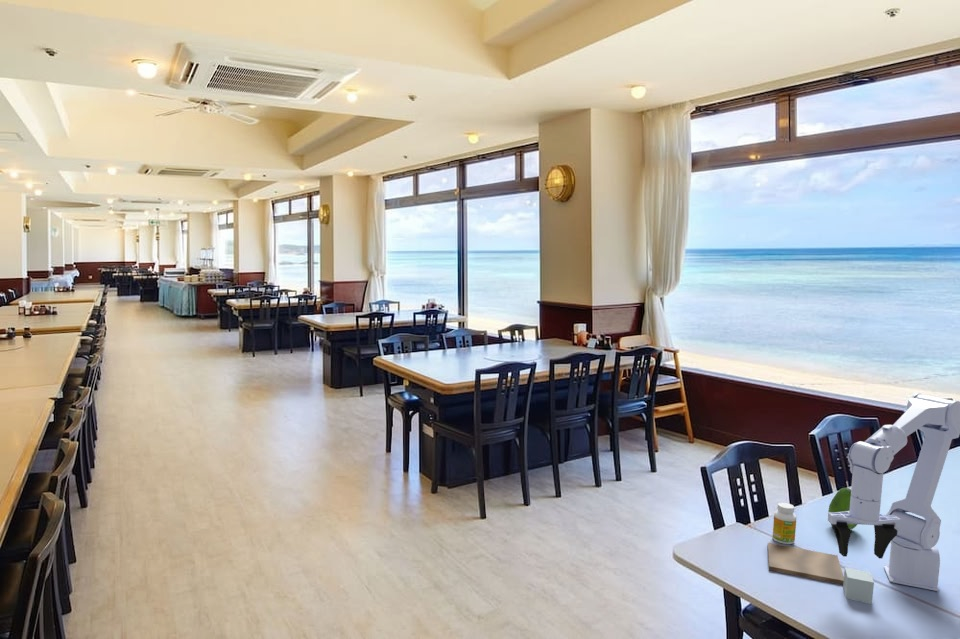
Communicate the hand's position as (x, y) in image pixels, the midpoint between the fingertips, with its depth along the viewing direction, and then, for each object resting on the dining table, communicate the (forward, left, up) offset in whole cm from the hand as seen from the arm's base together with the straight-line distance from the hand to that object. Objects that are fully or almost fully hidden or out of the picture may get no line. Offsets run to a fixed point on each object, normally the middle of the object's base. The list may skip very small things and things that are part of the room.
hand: (860, 555), depth 140 cm
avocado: (-2, -40, -10) cm, 41 cm away
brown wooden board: (+10, -11, -9) cm, 18 cm away
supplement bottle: (+14, -24, -10) cm, 29 cm away
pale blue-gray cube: (0, 0, -10) cm, 10 cm away
